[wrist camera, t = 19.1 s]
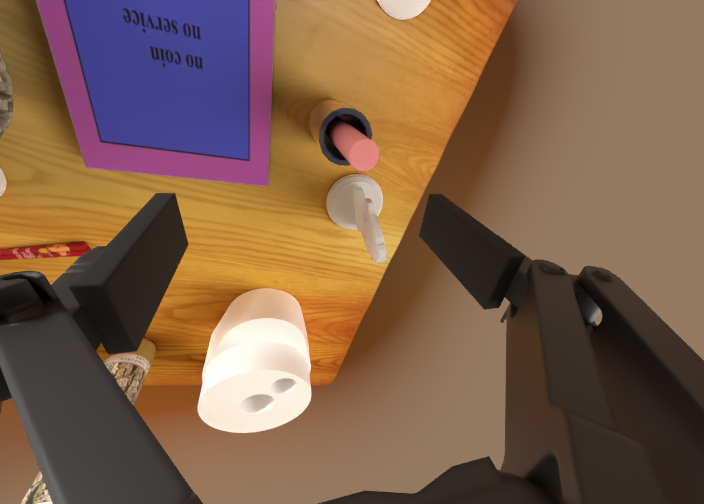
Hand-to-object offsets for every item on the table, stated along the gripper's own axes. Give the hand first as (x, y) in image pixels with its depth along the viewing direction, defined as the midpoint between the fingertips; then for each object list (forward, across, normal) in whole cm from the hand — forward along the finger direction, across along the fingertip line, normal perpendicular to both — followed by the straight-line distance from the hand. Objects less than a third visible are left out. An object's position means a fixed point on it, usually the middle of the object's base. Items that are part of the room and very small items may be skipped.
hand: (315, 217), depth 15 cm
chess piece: (+29, +11, -11) cm, 33 cm away
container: (+29, -7, -41) cm, 51 cm away
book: (+29, -12, +8) cm, 33 cm away
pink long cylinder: (+29, +6, +1) cm, 29 cm away
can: (+29, +6, +1) cm, 30 cm away
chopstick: (+30, -42, -19) cm, 54 cm away
